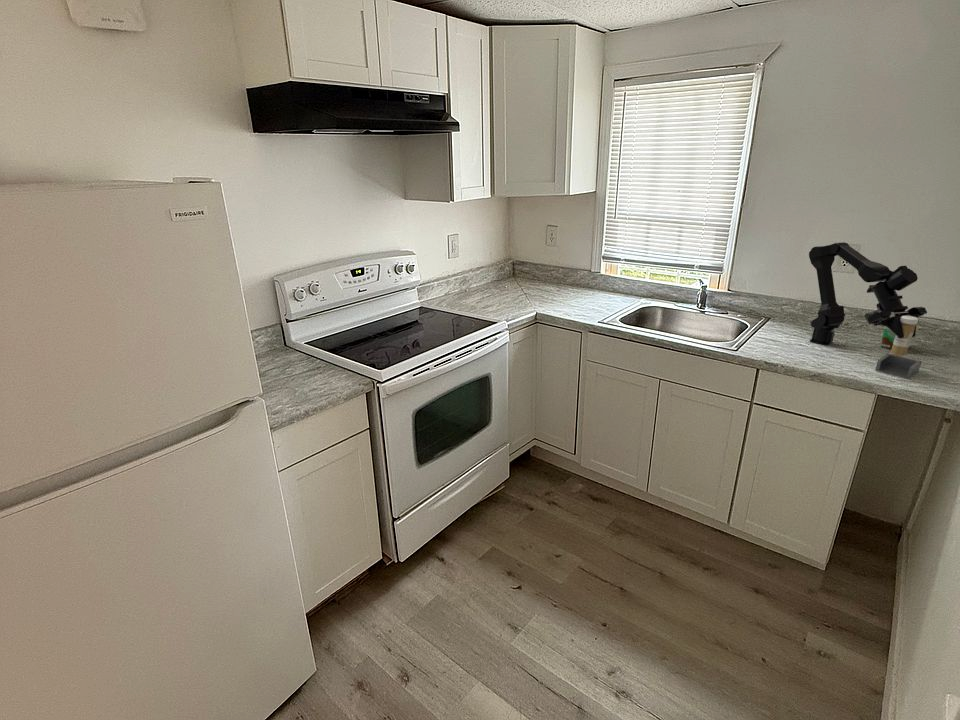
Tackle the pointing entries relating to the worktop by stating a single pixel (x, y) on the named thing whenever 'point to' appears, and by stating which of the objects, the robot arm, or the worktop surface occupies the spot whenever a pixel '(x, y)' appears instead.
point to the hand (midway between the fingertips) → (907, 337)
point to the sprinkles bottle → (908, 329)
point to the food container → (888, 338)
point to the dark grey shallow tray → (898, 366)
